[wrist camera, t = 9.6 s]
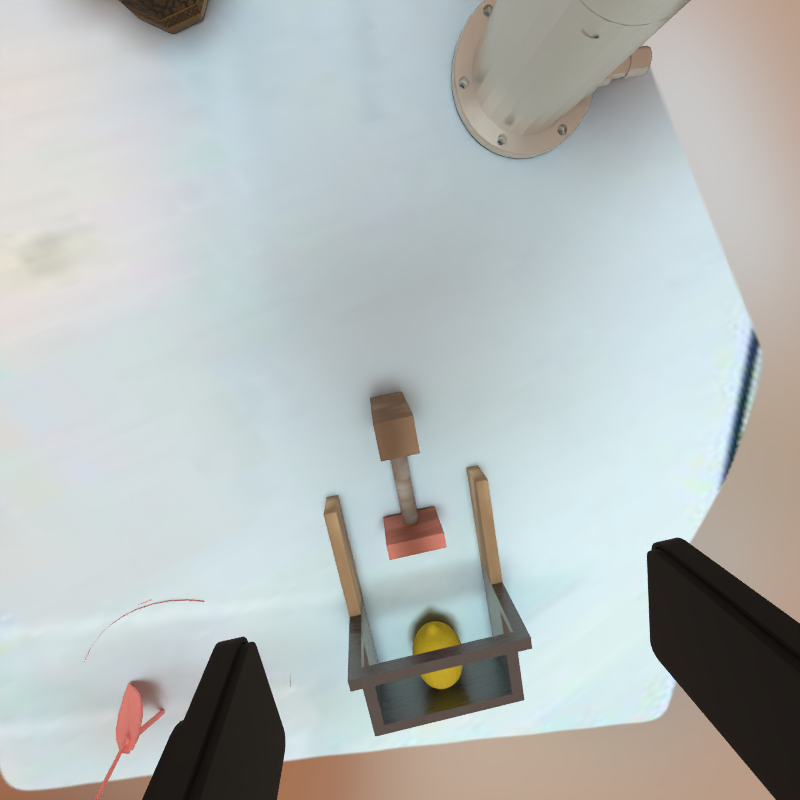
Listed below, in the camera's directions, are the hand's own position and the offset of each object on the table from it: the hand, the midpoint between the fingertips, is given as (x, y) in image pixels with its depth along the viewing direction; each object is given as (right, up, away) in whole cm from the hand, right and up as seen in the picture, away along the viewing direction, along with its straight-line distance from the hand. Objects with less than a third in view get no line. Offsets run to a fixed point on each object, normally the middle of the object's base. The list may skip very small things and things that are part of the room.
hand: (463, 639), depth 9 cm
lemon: (+2, -19, +35) cm, 40 cm away
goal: (+2, -20, +38) cm, 43 cm away
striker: (-2, -1, +33) cm, 33 cm away
